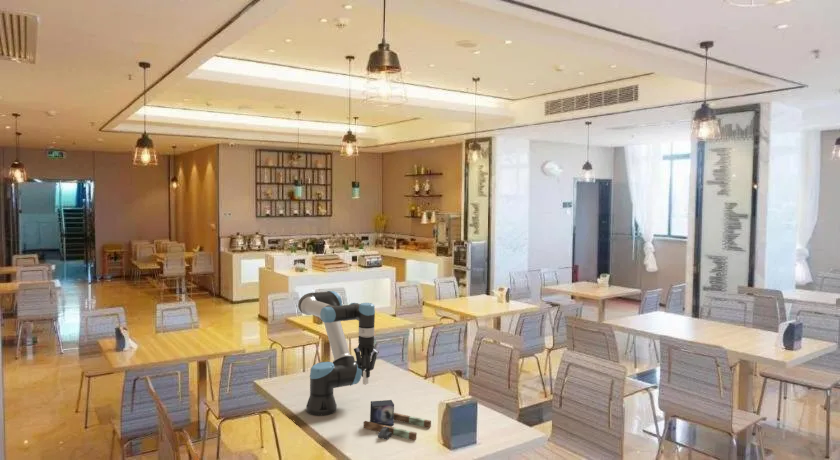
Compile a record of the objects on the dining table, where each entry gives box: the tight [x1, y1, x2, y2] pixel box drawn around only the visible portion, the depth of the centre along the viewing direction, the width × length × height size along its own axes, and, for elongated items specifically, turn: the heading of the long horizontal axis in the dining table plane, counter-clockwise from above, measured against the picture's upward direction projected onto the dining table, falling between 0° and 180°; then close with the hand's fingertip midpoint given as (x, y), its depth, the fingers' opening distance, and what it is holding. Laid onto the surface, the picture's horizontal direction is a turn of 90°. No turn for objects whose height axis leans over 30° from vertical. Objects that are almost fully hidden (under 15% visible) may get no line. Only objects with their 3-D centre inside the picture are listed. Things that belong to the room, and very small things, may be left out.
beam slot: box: [362, 412, 432, 441], centre depth 273 cm, size 27×17×3 cm, turn 64°
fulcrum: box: [377, 426, 393, 440], centre depth 262 cm, size 5×4×4 cm
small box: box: [369, 399, 395, 427], centre depth 277 cm, size 11×6×10 cm, turn 105°
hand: (365, 383), depth 280 cm, fingers closed
